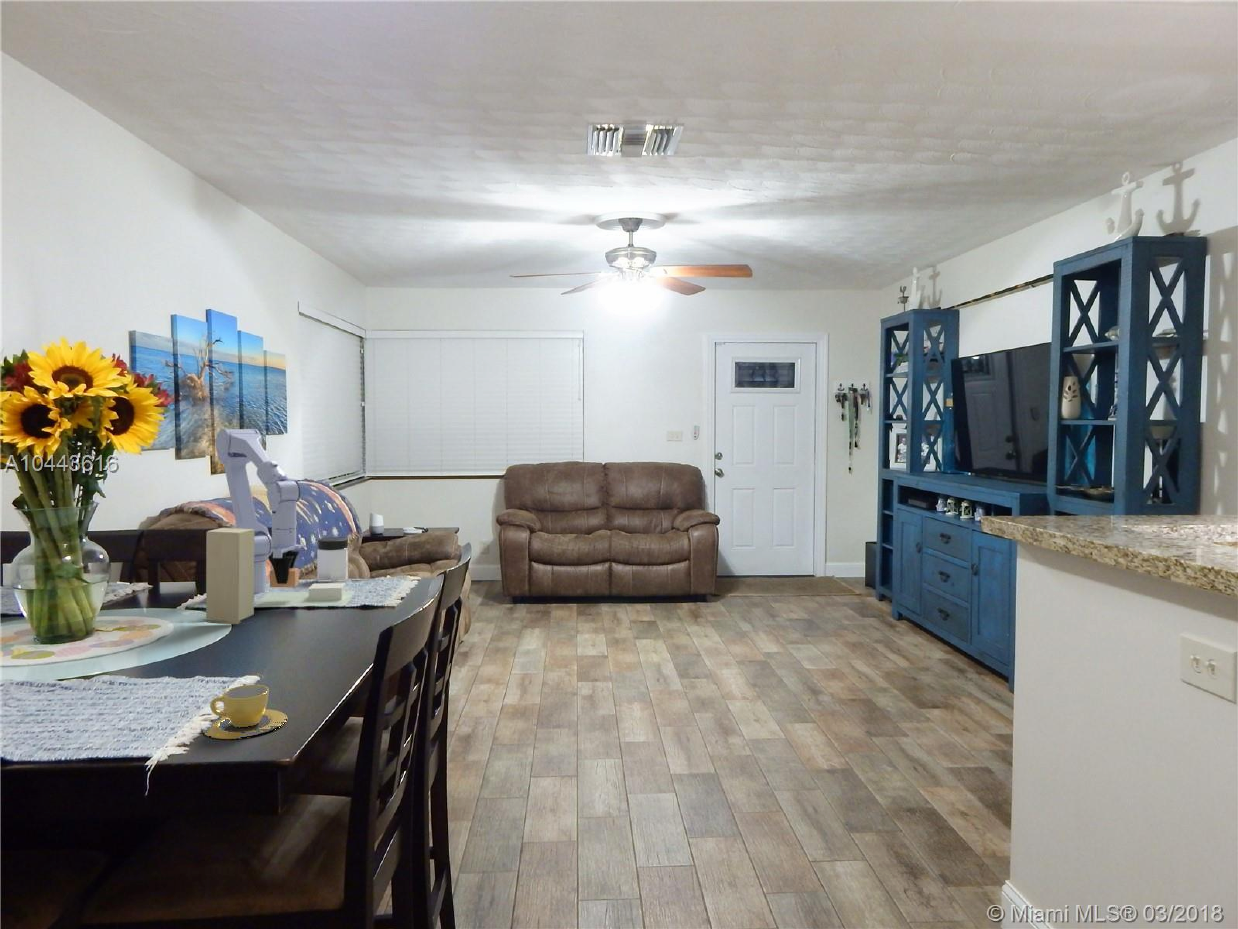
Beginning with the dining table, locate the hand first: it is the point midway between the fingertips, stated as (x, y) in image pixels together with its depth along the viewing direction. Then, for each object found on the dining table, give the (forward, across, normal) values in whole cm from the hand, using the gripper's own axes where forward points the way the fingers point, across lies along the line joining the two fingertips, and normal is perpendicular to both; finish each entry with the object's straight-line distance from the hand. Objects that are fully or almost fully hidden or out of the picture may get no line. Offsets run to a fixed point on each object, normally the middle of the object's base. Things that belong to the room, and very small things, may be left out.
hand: (284, 581), depth 202 cm
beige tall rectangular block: (+6, -16, +8) cm, 19 cm away
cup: (+6, -83, -13) cm, 84 cm away
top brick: (+1, 0, 0) cm, 1 cm away
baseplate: (+6, +1, -5) cm, 8 cm away
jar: (+6, +28, -7) cm, 29 cm away
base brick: (+5, +2, -10) cm, 11 cm away
